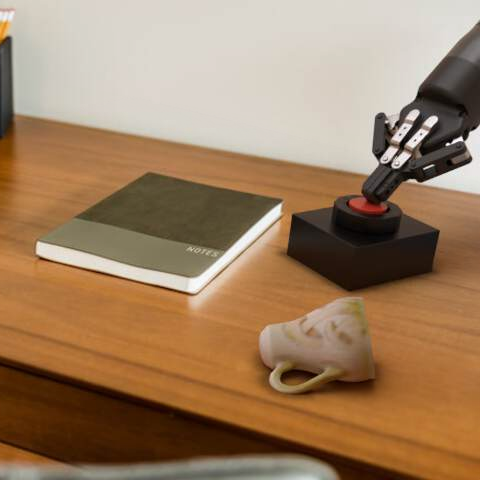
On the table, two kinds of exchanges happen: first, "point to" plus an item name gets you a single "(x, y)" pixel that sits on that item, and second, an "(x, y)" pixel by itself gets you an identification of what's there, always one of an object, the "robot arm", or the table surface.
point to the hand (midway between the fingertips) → (369, 198)
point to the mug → (321, 346)
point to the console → (362, 244)
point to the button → (367, 206)
